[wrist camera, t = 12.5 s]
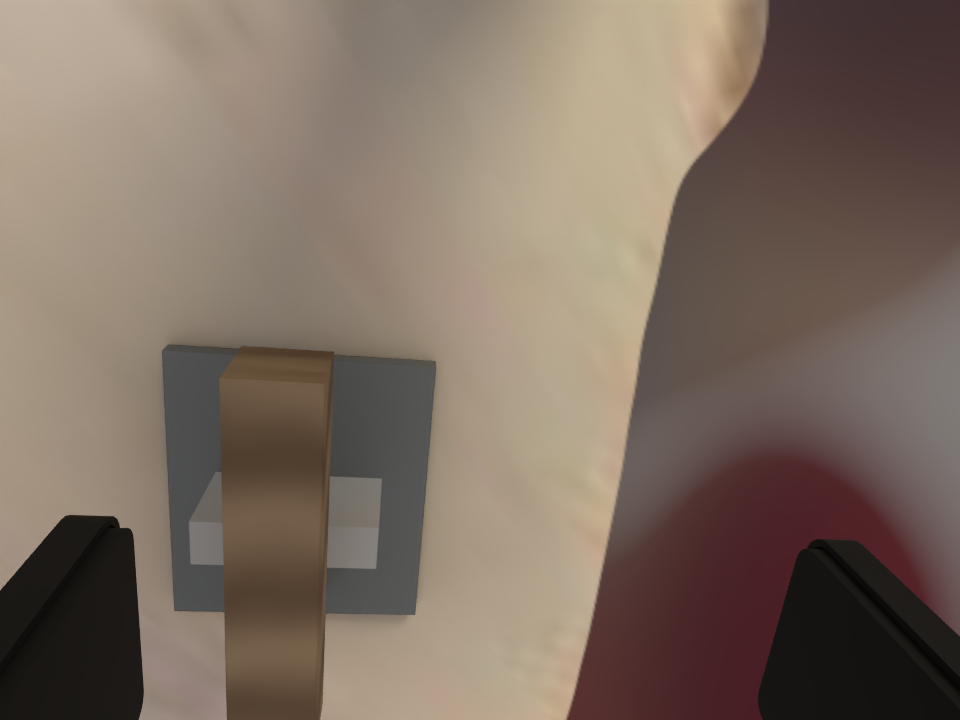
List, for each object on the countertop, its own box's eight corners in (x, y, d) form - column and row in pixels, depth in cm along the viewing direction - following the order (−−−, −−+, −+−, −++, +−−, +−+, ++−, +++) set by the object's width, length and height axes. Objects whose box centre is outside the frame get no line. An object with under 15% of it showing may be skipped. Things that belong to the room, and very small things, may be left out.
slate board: (168, 344, 37) (125, 386, 31) (435, 361, 38) (440, 403, 33) (179, 599, 42) (144, 675, 36) (414, 604, 44) (416, 676, 38)
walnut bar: (242, 346, 31) (219, 378, 27) (334, 351, 31) (324, 383, 28) (246, 702, 37) (228, 768, 34) (322, 702, 38) (313, 767, 34)
